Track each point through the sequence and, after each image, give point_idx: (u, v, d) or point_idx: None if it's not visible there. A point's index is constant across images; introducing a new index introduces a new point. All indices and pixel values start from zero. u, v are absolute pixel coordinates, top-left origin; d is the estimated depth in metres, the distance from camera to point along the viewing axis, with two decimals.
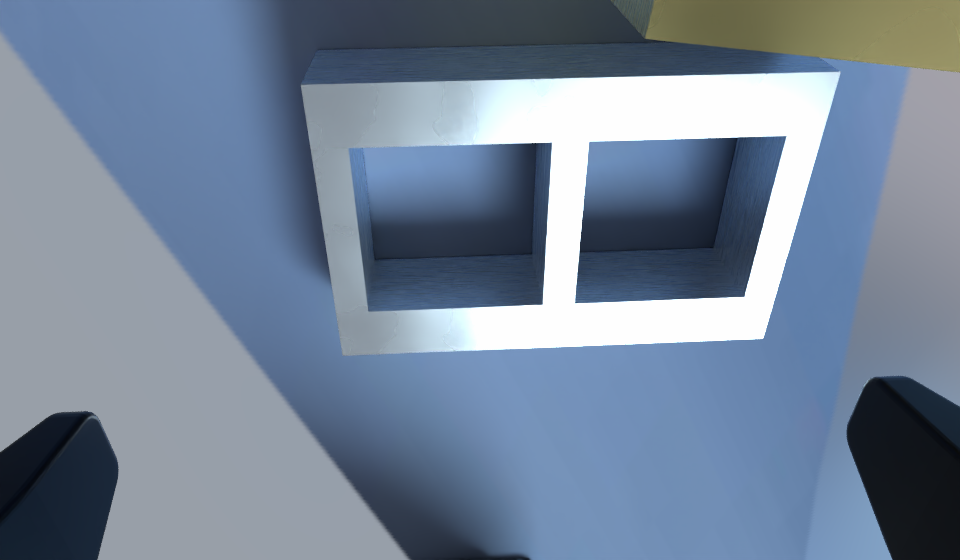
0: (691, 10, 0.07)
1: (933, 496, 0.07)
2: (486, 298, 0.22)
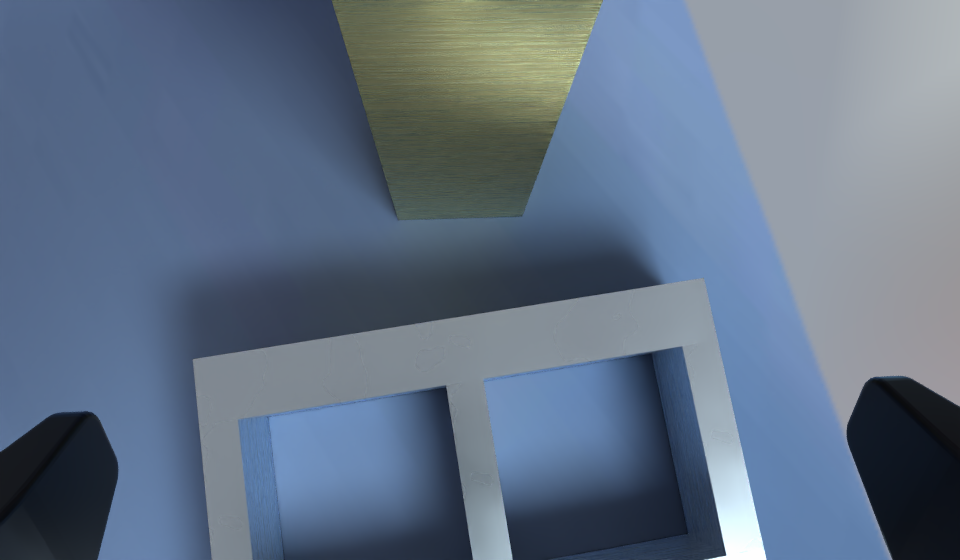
0: None
1: (933, 496, 0.07)
2: None
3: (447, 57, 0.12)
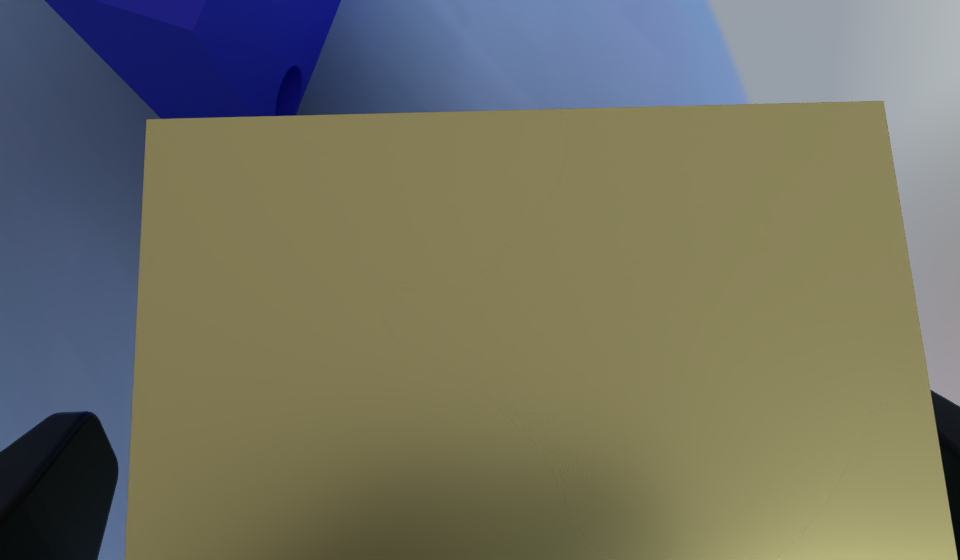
0: None
1: None
2: None
3: None
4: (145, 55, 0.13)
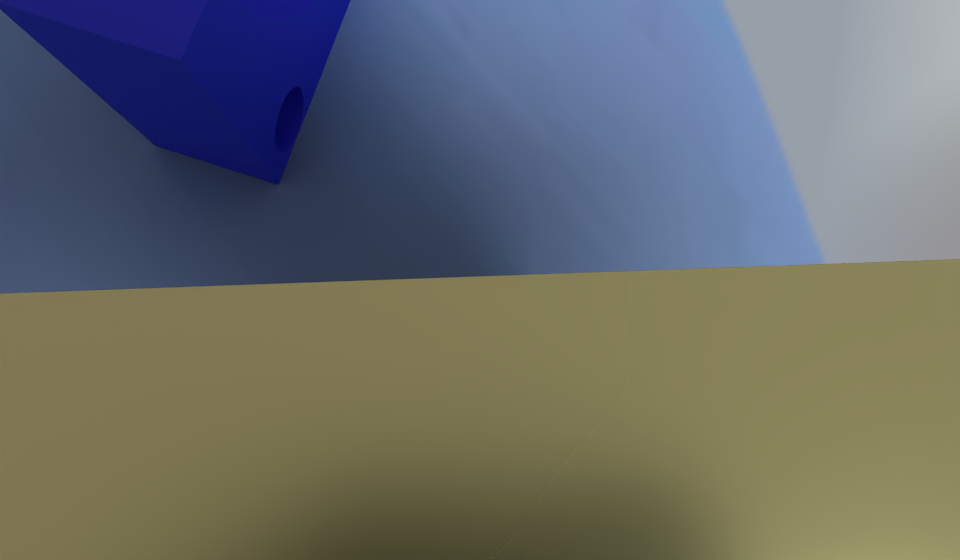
0: None
1: None
2: None
3: None
4: (131, 82, 0.12)
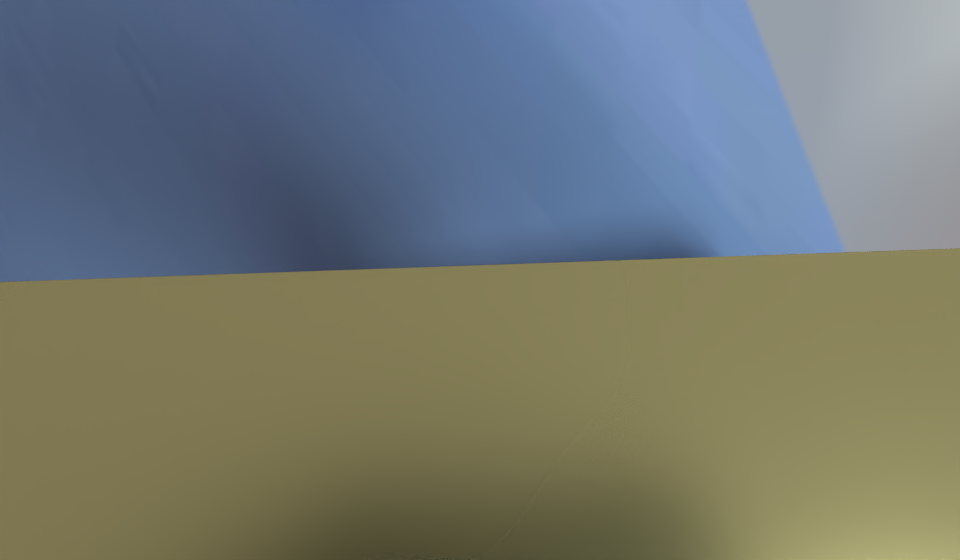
0: None
1: None
2: None
3: None
4: None
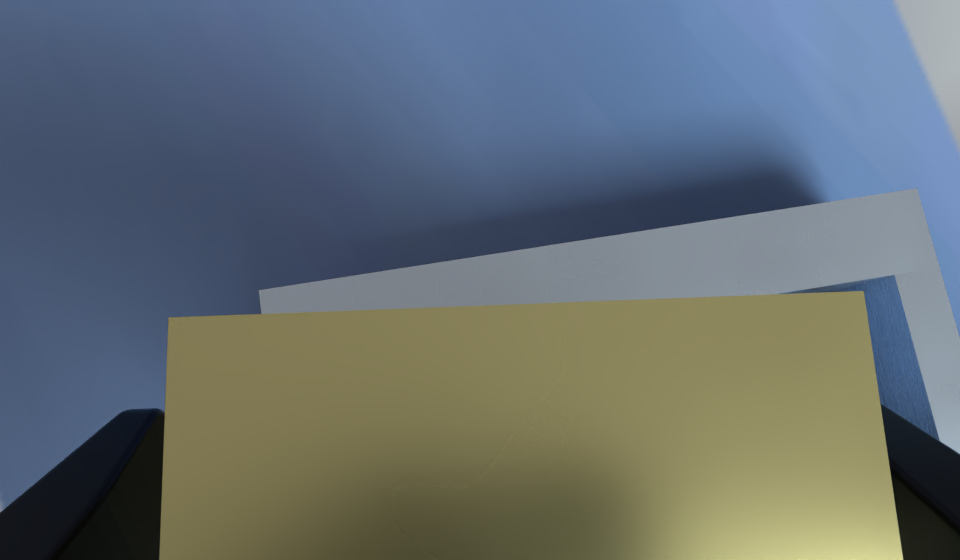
0: None
1: None
2: None
3: None
4: None
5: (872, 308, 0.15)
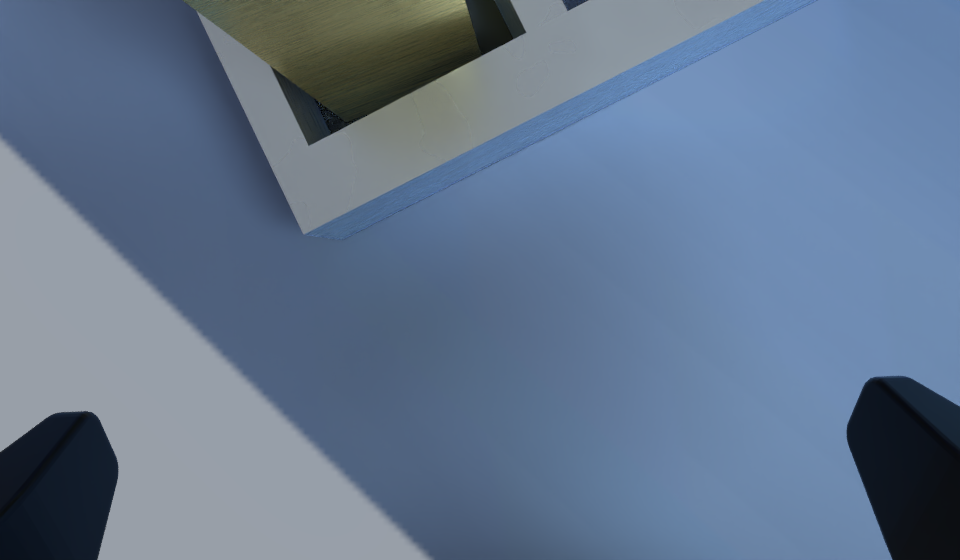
0: None
1: (933, 496, 0.07)
2: None
3: None
4: None
5: None
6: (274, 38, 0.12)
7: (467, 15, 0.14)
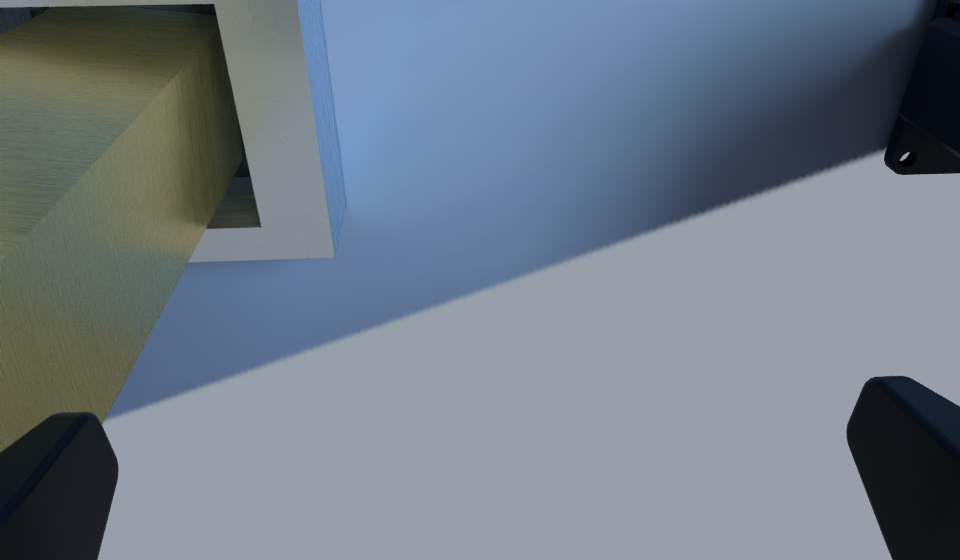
0: None
1: (933, 496, 0.07)
2: None
3: (72, 361, 0.10)
4: None
5: None
6: (173, 263, 0.15)
7: (185, 68, 0.15)
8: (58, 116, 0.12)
